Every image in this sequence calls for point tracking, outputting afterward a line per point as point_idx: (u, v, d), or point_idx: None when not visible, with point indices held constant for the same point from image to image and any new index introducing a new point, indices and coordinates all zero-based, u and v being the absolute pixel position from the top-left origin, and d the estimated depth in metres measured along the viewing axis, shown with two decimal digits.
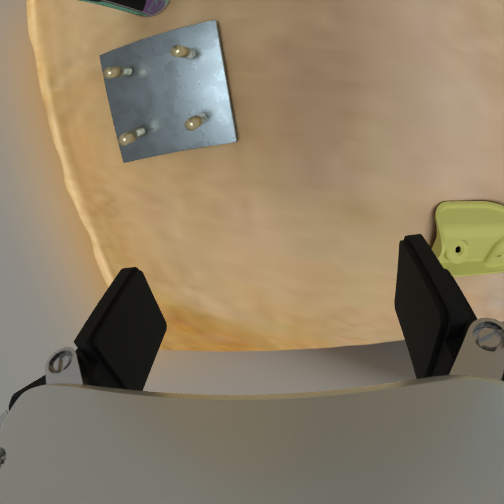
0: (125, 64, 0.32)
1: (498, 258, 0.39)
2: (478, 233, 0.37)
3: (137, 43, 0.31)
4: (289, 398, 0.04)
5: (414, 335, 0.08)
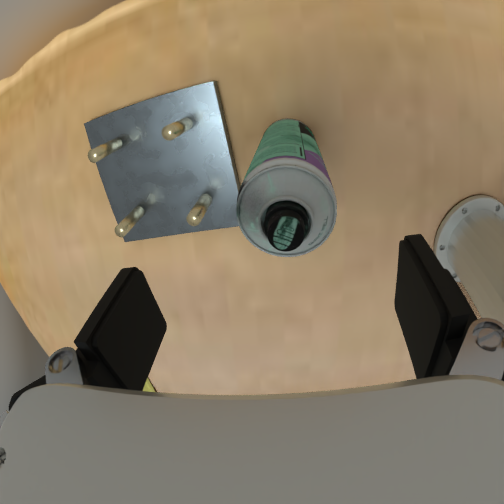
0: (195, 120, 0.29)
1: None
2: None
3: (222, 136, 0.30)
4: (289, 398, 0.04)
5: (414, 335, 0.08)
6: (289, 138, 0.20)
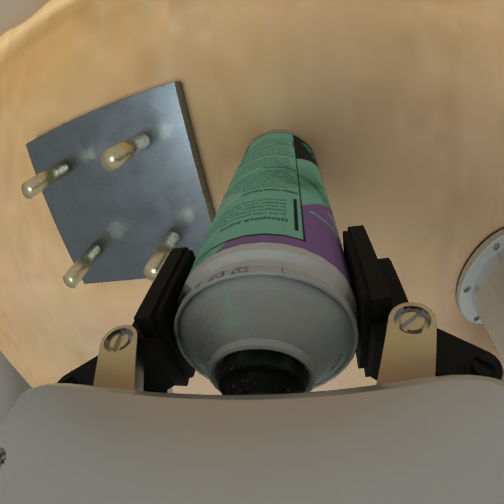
0: (153, 137, 0.21)
1: None
2: None
3: (188, 157, 0.22)
4: (289, 398, 0.04)
5: None
6: (277, 175, 0.13)
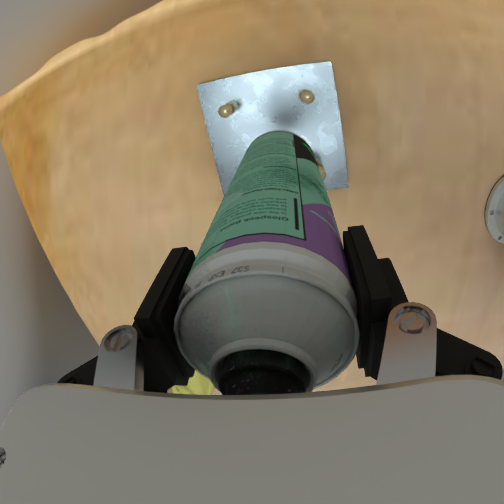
0: (313, 92, 0.32)
1: (175, 388, 0.64)
2: (192, 377, 0.60)
3: (336, 108, 0.33)
4: (289, 398, 0.04)
5: None
6: (277, 175, 0.13)
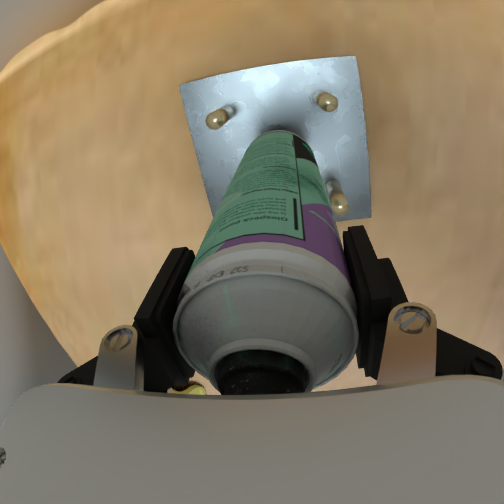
0: None
1: None
2: None
3: (361, 117, 0.25)
4: (289, 398, 0.04)
5: None
6: (276, 175, 0.13)
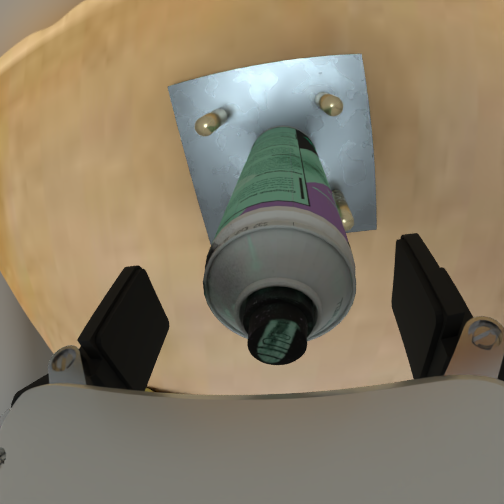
0: None
1: None
2: None
3: (367, 121, 0.23)
4: (289, 398, 0.04)
5: (410, 334, 0.08)
6: (284, 161, 0.15)
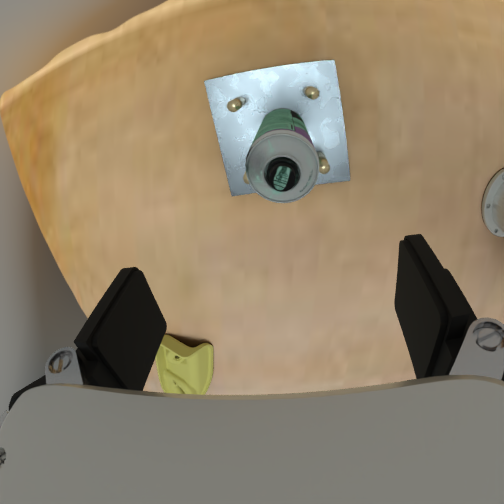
0: (317, 89, 0.34)
1: (172, 381, 0.65)
2: (192, 372, 0.61)
3: (339, 104, 0.34)
4: (289, 398, 0.04)
5: (414, 335, 0.08)
6: (283, 119, 0.26)
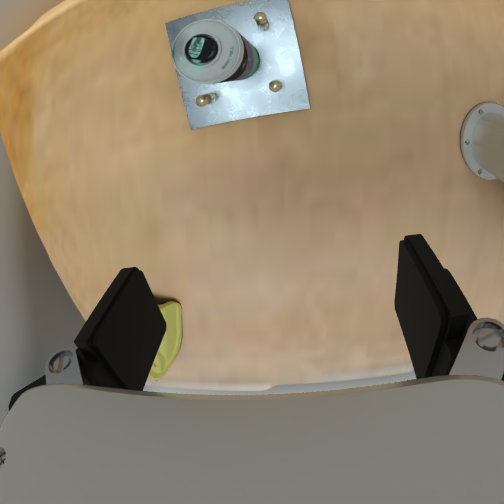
0: (271, 22, 0.31)
1: None
2: None
3: (293, 34, 0.32)
4: (289, 398, 0.04)
5: (414, 335, 0.08)
6: None
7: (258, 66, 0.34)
